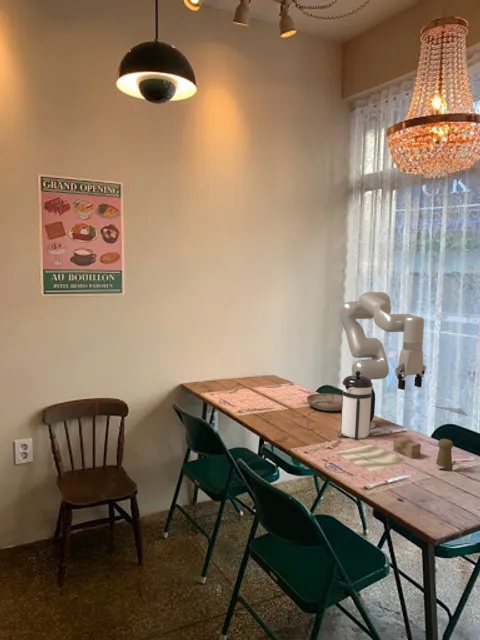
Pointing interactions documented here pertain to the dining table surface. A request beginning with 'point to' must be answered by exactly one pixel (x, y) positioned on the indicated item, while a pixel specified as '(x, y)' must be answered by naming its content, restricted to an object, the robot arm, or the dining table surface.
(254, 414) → the dining table surface
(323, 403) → the ceramic bowl
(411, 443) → the block
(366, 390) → the coffee press
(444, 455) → the cork
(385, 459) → the birch board
